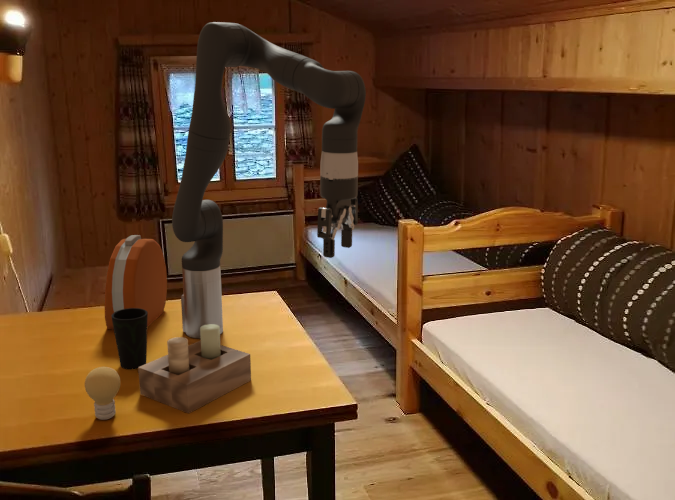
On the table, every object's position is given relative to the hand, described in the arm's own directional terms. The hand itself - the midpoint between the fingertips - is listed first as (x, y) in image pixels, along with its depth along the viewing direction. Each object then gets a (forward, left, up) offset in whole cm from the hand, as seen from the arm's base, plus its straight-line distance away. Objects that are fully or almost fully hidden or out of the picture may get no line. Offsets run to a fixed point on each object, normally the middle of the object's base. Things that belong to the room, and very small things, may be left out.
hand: (337, 252), depth 146 cm
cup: (-41, -21, -28) cm, 54 cm away
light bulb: (-26, -40, -28) cm, 55 cm away
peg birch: (-21, -26, -23) cm, 40 cm away
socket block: (-21, -21, -28) cm, 41 cm away
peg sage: (-21, -17, -23) cm, 35 cm away
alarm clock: (-63, -2, -28) cm, 69 cm away
